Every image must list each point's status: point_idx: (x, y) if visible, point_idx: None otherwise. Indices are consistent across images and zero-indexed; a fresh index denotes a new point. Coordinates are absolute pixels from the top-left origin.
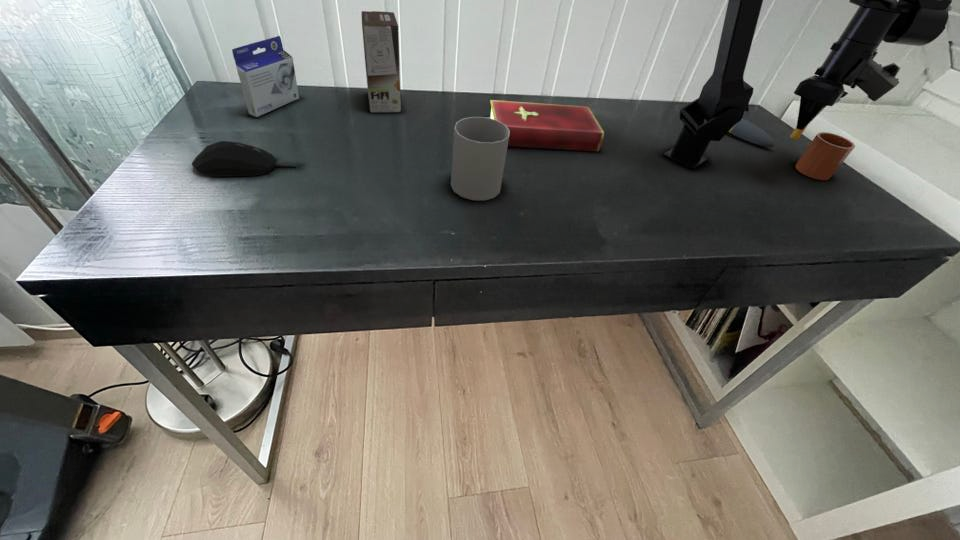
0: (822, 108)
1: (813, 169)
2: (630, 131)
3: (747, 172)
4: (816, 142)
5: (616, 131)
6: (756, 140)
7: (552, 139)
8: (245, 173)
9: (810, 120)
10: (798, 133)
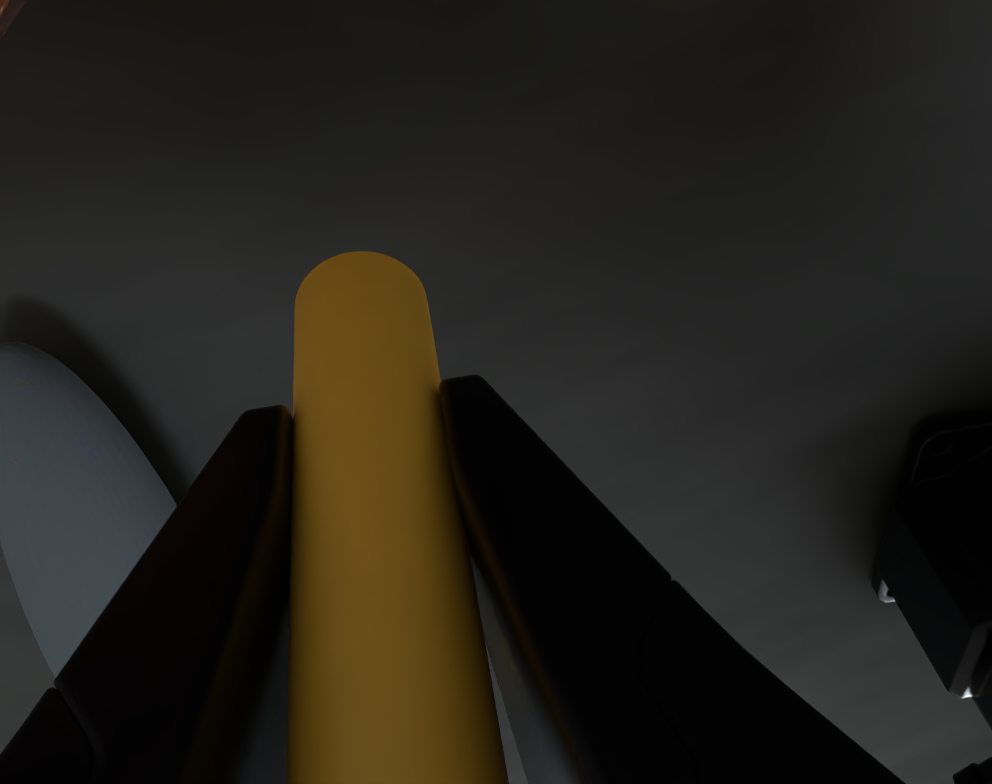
0: (725, 773)
1: None
2: (881, 751)
3: (815, 162)
4: (8, 18)
5: (947, 762)
6: (149, 472)
7: None
8: None
9: (590, 500)
10: (426, 337)
